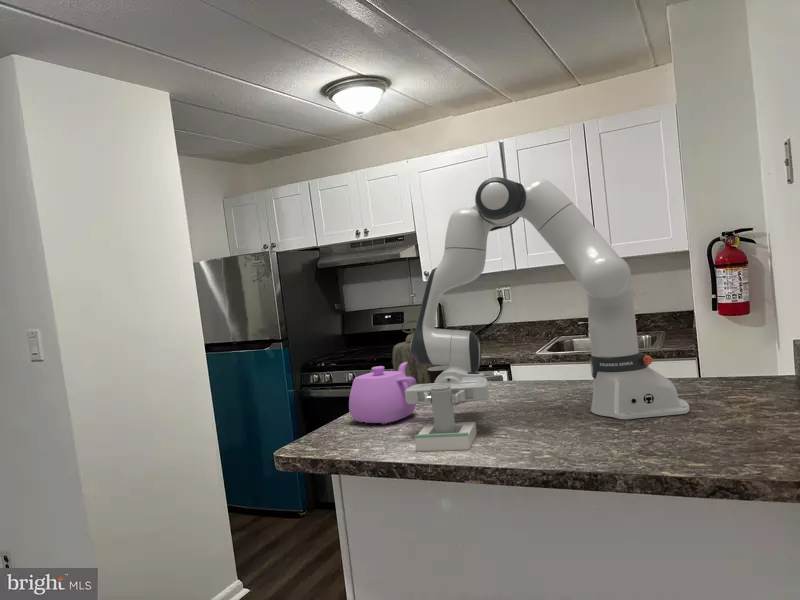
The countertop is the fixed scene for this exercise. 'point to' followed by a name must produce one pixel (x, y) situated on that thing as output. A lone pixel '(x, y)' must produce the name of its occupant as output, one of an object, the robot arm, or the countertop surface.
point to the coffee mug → (435, 372)
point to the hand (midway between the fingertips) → (441, 399)
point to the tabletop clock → (410, 359)
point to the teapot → (381, 396)
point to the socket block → (446, 438)
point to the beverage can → (443, 409)
